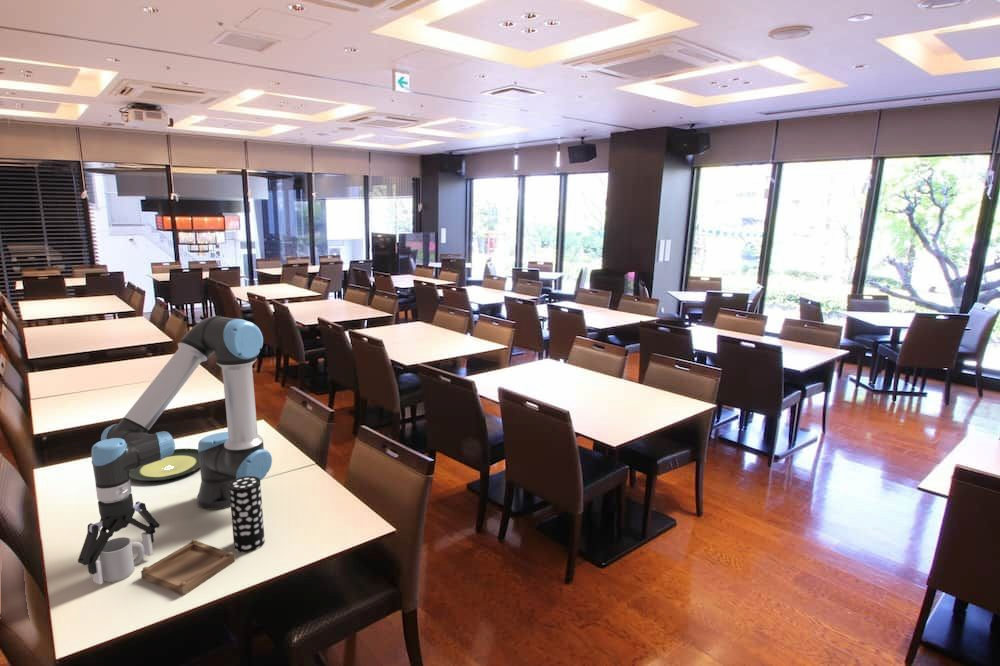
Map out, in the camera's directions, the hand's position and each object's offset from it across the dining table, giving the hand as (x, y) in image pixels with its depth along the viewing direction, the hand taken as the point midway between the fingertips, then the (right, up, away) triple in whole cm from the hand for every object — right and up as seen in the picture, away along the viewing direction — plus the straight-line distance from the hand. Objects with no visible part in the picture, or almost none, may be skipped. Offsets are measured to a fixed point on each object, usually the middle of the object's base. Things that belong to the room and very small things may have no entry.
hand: (124, 568), depth 151 cm
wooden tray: (+17, -1, +2) cm, 17 cm away
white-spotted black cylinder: (+28, +1, +14) cm, 31 cm away
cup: (0, -1, 0) cm, 2 cm away
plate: (-25, +12, +62) cm, 68 cm away
